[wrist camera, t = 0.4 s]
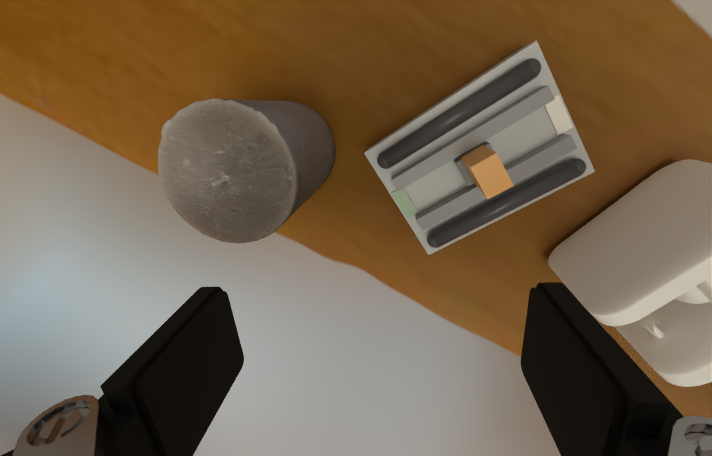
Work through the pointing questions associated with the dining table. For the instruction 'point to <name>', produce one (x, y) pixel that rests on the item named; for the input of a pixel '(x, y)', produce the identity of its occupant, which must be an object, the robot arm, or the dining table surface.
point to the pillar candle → (243, 164)
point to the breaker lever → (484, 170)
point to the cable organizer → (651, 270)
